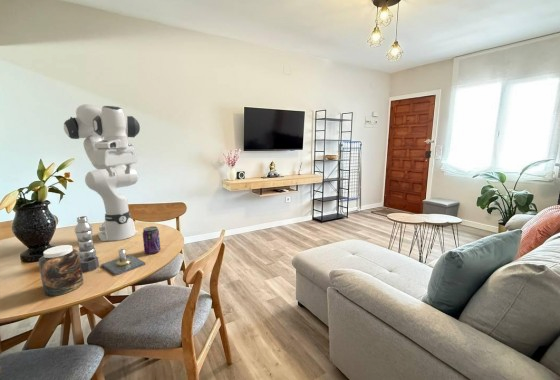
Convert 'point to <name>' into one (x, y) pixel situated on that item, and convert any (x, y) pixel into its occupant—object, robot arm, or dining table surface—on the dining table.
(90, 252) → the plastic bottle
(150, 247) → the beverage can
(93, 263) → the octagonal nut
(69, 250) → the jar
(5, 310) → the dining table surface
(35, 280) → the dining table surface
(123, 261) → the post stand
